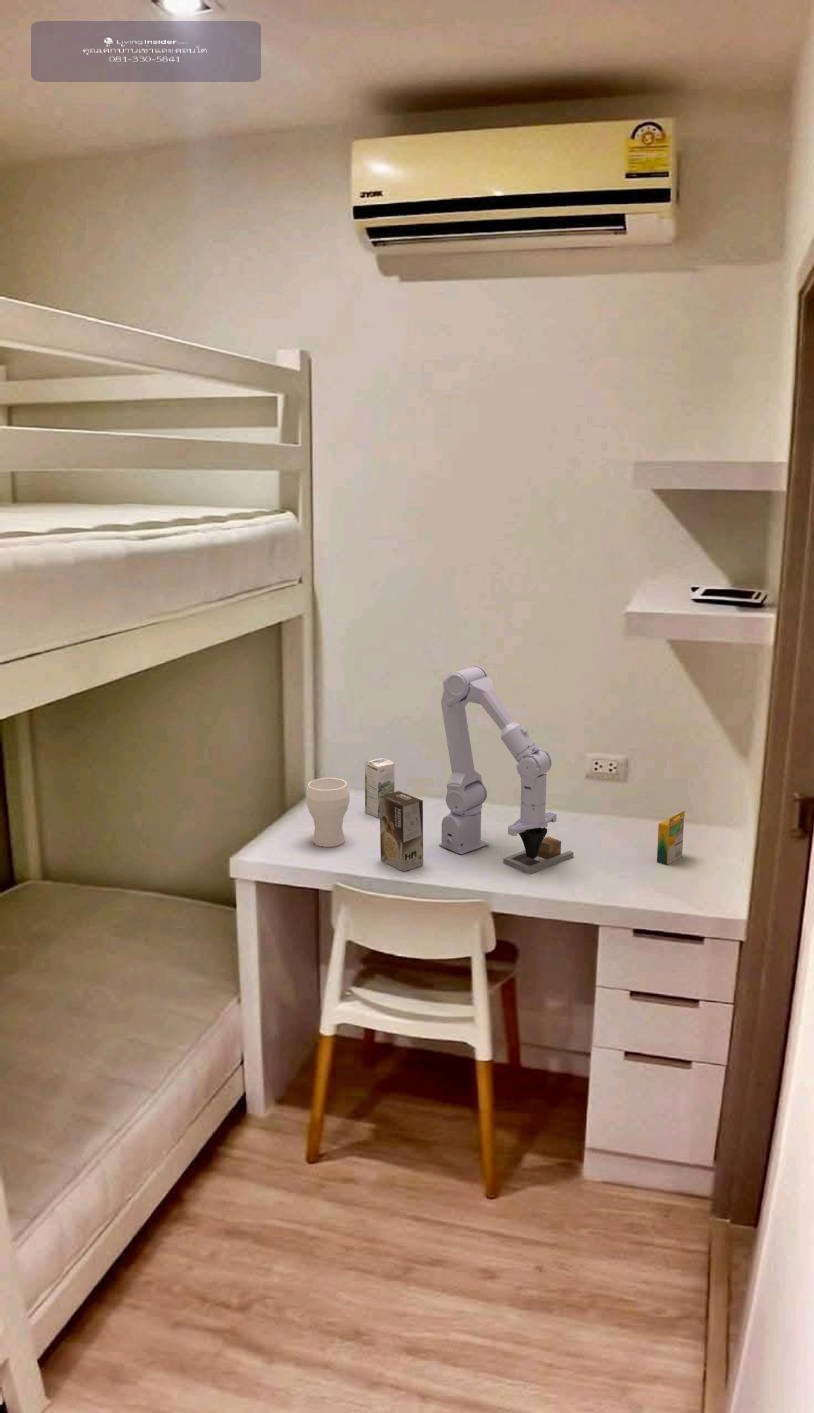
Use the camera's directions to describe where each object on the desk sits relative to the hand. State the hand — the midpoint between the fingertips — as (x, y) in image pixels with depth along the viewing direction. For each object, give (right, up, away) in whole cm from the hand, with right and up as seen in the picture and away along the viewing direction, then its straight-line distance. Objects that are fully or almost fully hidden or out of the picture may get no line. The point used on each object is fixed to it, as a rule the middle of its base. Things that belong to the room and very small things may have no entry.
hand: (531, 857), depth 235 cm
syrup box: (-36, +7, +33) cm, 49 cm away
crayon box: (+33, -1, +2) cm, 33 cm away
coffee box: (-30, -2, +1) cm, 31 cm away
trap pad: (0, -1, 0) cm, 1 cm away
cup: (-49, +2, +14) cm, 50 cm away
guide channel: (+2, -1, +2) cm, 3 cm away
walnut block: (+5, 0, +4) cm, 6 cm away
